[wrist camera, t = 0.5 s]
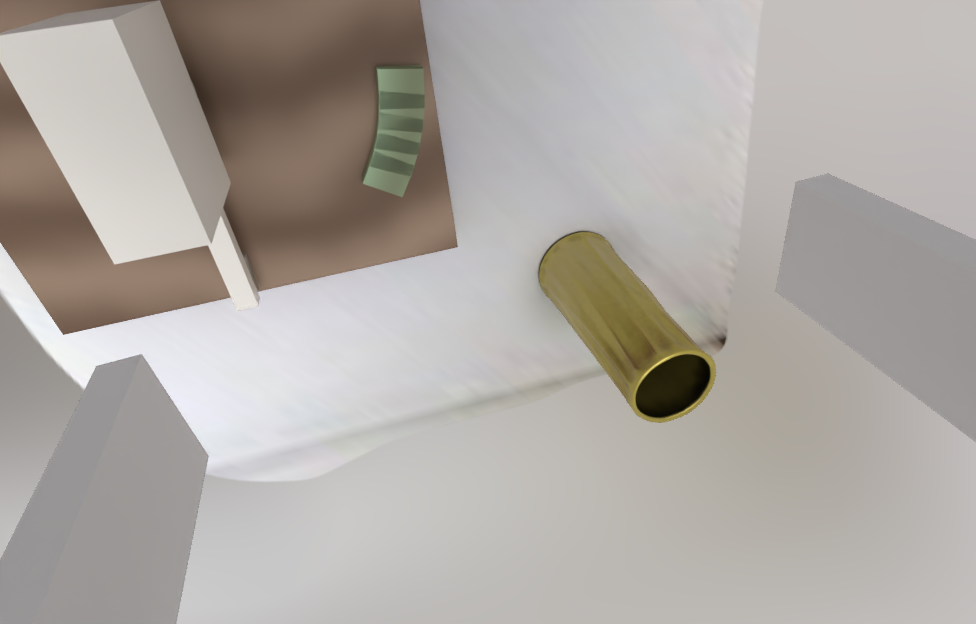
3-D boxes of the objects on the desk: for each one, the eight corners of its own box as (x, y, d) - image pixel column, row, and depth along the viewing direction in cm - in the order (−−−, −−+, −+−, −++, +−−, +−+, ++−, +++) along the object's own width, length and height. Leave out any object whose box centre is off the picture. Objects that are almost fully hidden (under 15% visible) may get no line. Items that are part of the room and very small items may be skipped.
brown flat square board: (-265, -204, 21) (-339, -223, 19) (373, -254, 25) (380, -276, 22) (74, 316, 35) (57, 344, 32) (451, 234, 38) (461, 253, 36)
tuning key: (89, 6, 25) (-15, 37, 17) (173, -6, 26) (112, 19, 18) (220, 294, 34) (193, 404, 26) (281, 281, 34) (273, 385, 26)
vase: (592, 307, 45) (690, 432, 34) (525, 295, 43) (605, 425, 31) (626, 240, 42) (744, 351, 31) (556, 222, 40) (656, 336, 29)
